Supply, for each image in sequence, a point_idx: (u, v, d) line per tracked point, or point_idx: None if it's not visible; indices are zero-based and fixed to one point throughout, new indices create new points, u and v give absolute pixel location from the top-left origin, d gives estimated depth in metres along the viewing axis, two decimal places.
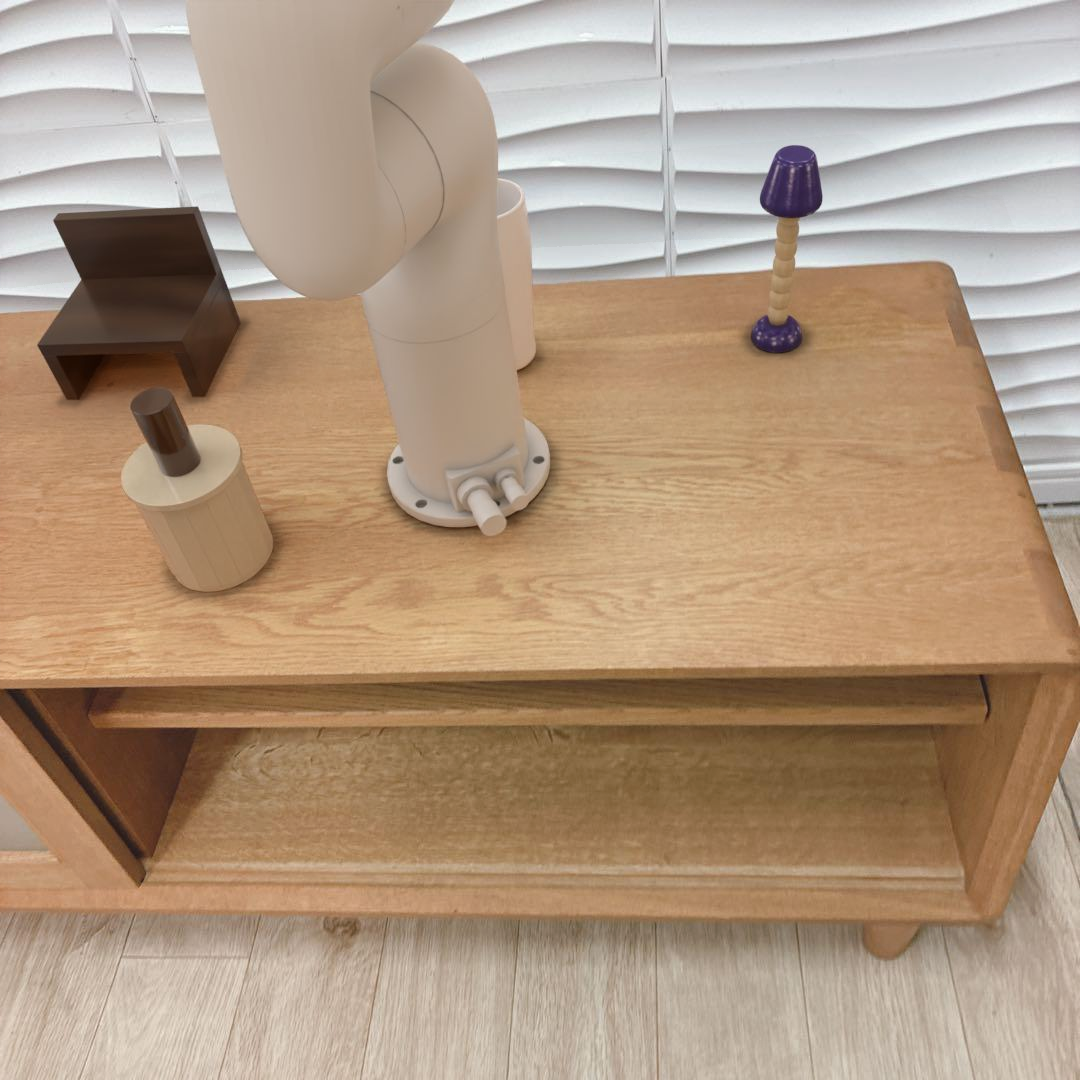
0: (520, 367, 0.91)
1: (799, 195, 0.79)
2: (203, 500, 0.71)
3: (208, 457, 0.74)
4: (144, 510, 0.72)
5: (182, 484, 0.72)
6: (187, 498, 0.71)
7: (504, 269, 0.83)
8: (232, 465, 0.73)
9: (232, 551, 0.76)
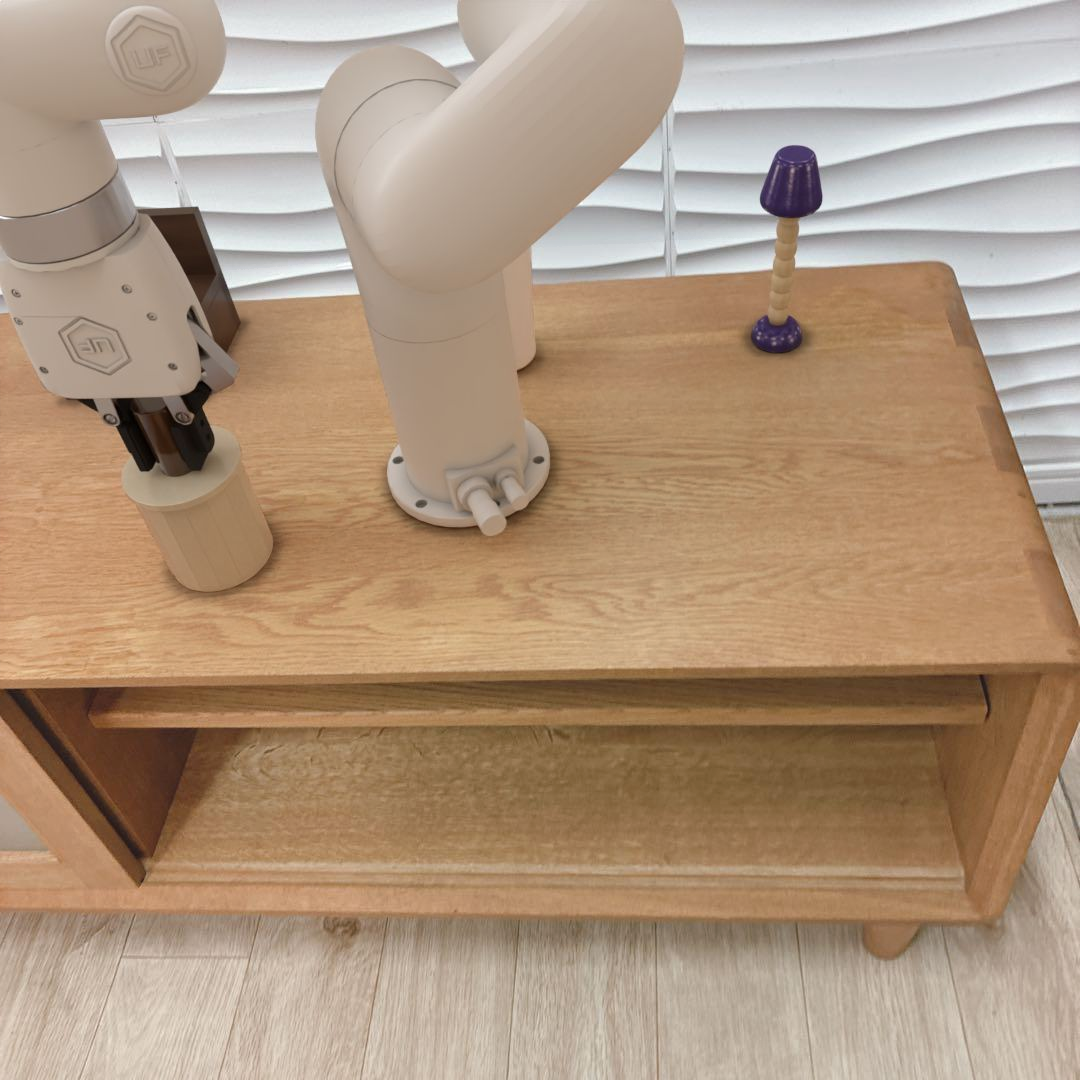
0: (520, 367, 0.91)
1: (799, 195, 0.79)
2: (203, 500, 0.71)
3: (208, 457, 0.74)
4: (144, 510, 0.72)
5: (182, 484, 0.72)
6: (187, 498, 0.71)
7: (504, 269, 0.83)
8: (232, 465, 0.73)
9: (232, 551, 0.76)
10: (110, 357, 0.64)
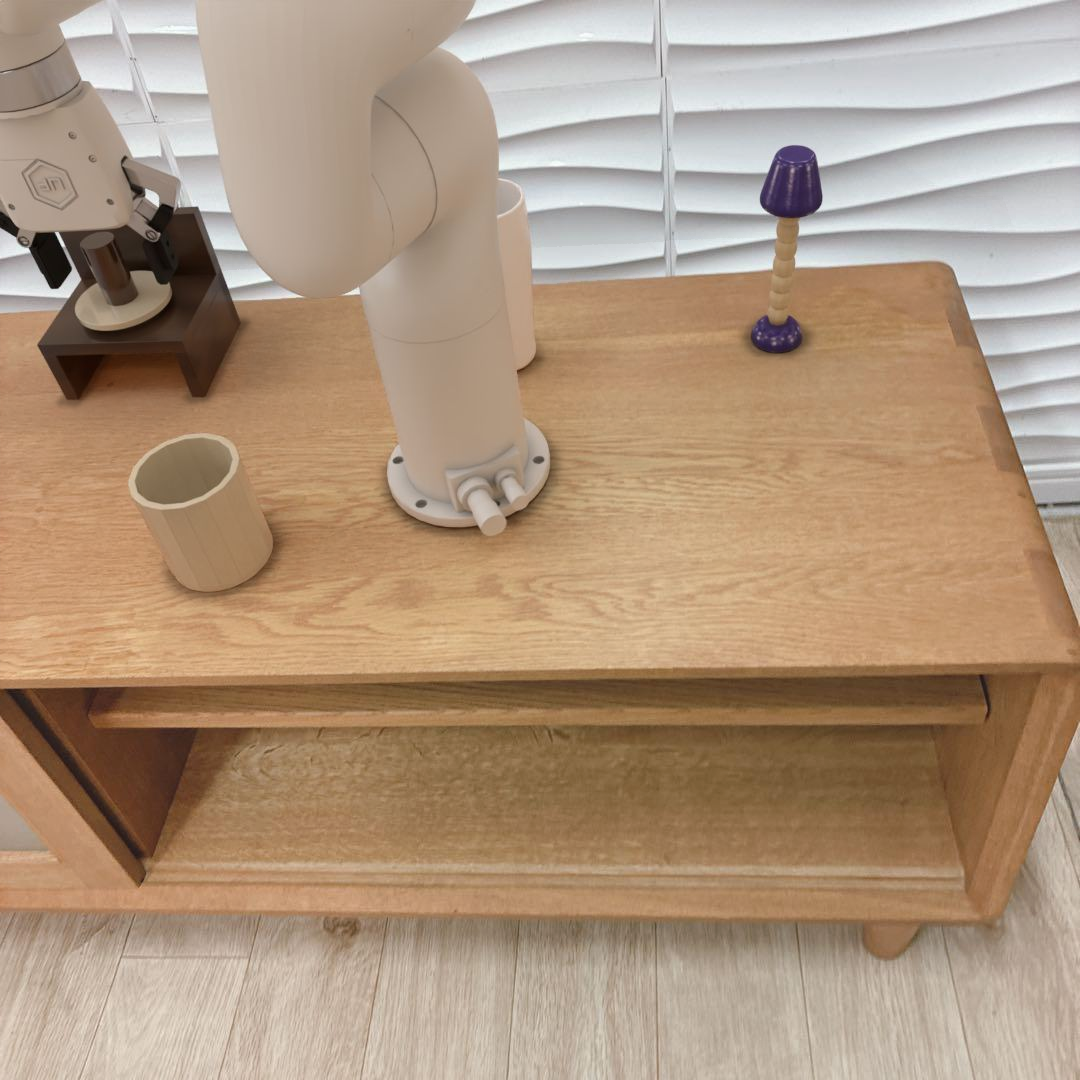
0: (520, 367, 0.91)
1: (799, 195, 0.79)
2: (139, 322, 0.90)
3: (144, 292, 0.93)
4: (144, 510, 0.72)
5: (122, 310, 0.91)
6: (126, 319, 0.90)
7: (504, 269, 0.83)
8: (162, 297, 0.92)
9: (232, 551, 0.76)
10: (62, 194, 0.83)
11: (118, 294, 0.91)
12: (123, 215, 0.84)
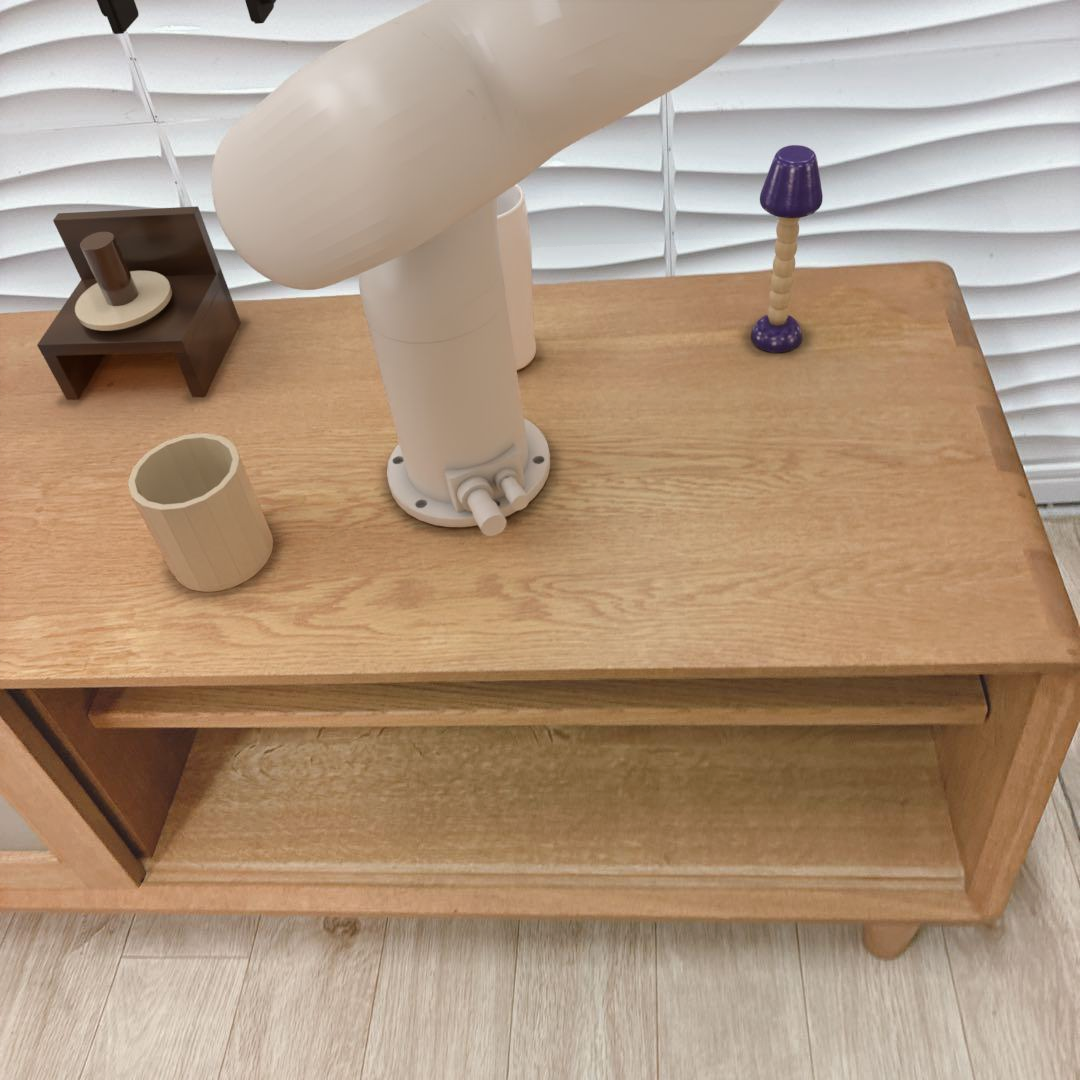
0: (520, 367, 0.91)
1: (799, 195, 0.79)
2: (139, 322, 0.90)
3: (144, 292, 0.93)
4: (144, 510, 0.72)
5: (122, 310, 0.91)
6: (126, 319, 0.90)
7: (504, 269, 0.83)
8: (162, 297, 0.92)
9: (232, 551, 0.76)
10: None
11: (118, 294, 0.91)
12: None
